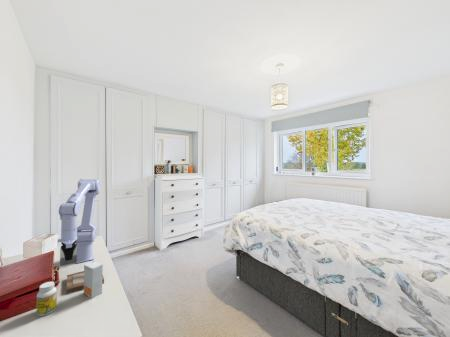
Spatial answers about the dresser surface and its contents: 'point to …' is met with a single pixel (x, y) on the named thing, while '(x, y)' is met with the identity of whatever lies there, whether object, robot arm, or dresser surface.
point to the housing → (74, 260)
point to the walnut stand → (76, 282)
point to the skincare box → (93, 279)
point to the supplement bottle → (46, 299)
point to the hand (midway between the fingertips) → (68, 258)
